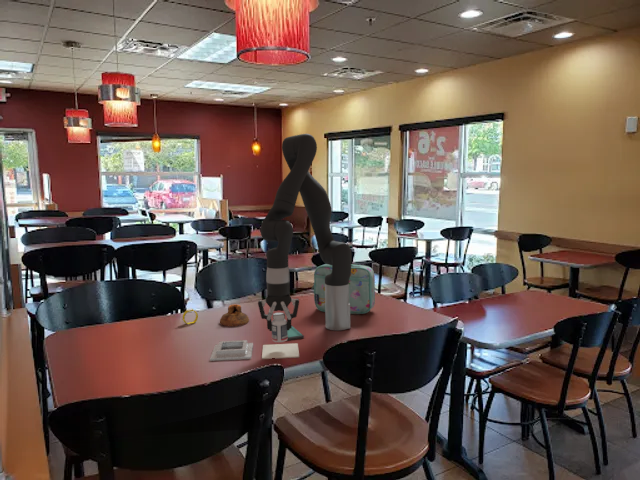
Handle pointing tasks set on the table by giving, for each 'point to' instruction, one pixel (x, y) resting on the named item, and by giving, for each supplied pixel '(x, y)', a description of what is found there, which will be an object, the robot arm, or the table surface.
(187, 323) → the yellow ring
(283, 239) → the robot arm
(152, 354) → the table surface
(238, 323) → the bell
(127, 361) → the table surface
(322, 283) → the lunch box
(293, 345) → the mat
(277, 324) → the pill bottle
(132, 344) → the table surface
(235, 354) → the square frame
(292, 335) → the smartphone
